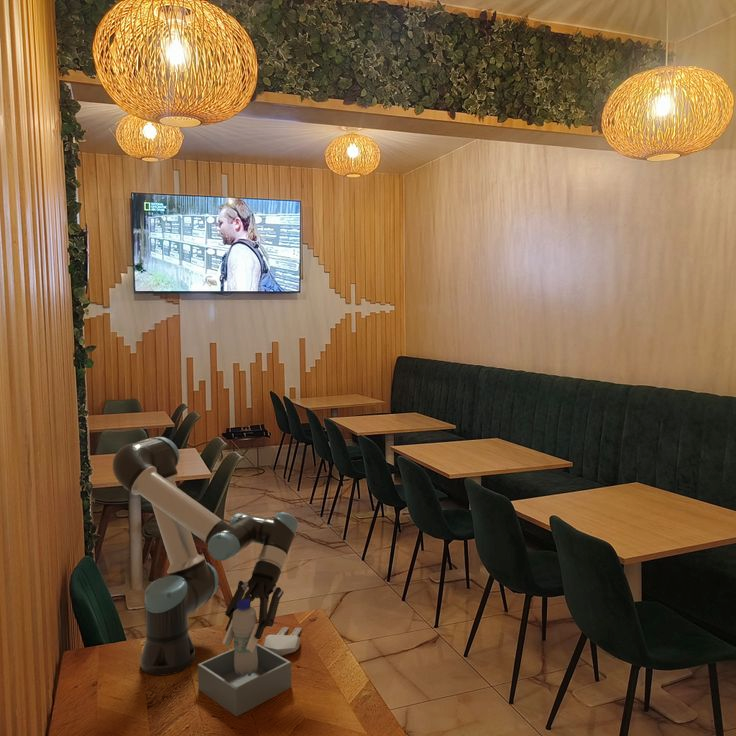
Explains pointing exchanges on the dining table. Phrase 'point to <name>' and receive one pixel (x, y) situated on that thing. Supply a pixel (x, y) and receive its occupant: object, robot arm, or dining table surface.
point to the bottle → (244, 638)
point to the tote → (244, 680)
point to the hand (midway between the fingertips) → (237, 647)
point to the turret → (283, 641)
